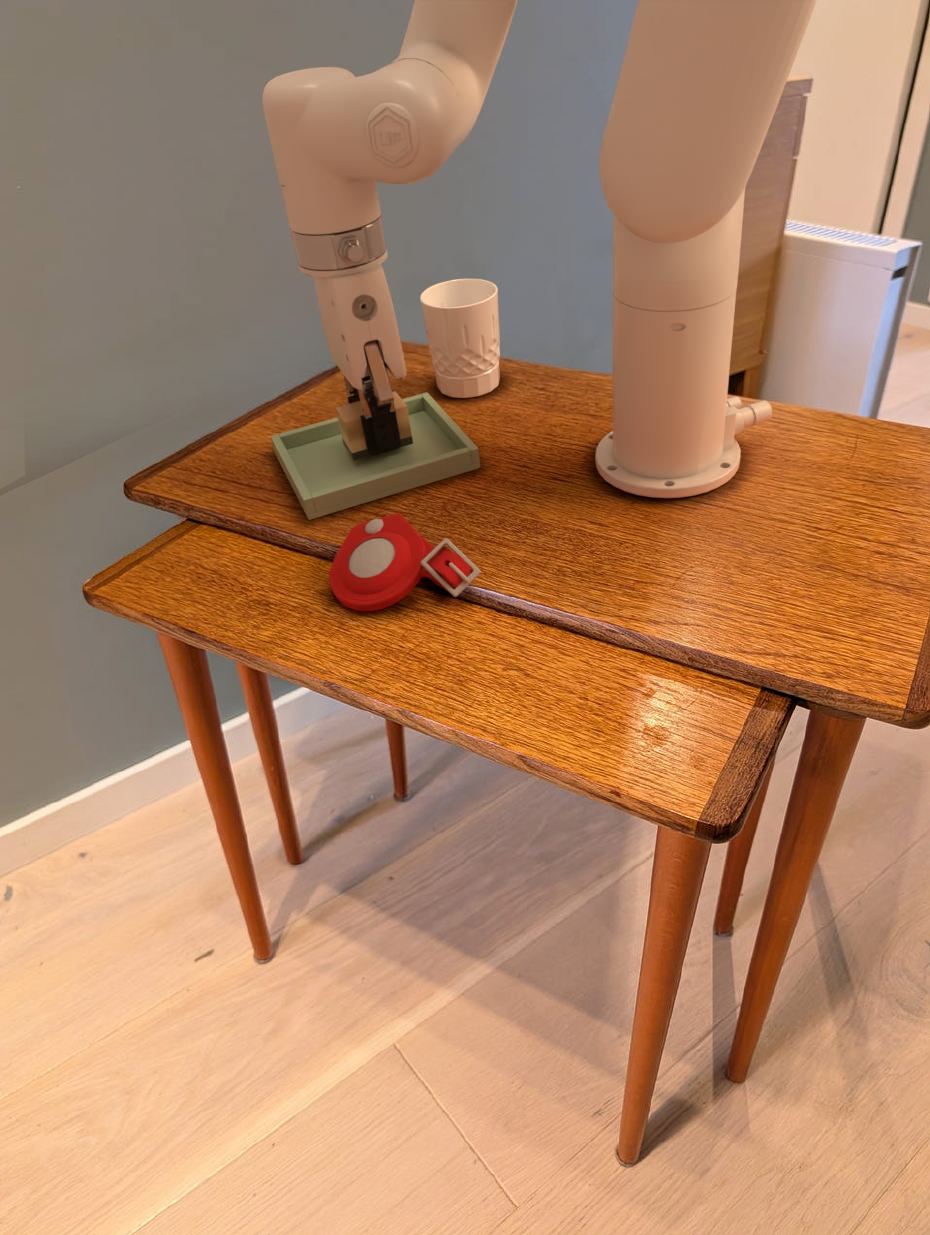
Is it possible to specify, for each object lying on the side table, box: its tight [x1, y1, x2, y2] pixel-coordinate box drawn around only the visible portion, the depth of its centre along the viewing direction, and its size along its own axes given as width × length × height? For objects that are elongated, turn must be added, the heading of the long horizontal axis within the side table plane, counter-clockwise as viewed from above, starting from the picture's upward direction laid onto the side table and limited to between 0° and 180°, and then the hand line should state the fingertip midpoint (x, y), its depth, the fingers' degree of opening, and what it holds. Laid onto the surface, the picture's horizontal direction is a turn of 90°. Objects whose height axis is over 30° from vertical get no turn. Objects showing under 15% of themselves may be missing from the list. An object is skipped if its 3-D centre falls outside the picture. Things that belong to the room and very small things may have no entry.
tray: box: [270, 391, 481, 521], centre depth 86 cm, size 17×14×2 cm
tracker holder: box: [328, 512, 482, 612], centre depth 70 cm, size 12×4×10 cm
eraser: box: [335, 391, 413, 461], centre depth 85 cm, size 6×4×4 cm, turn 111°
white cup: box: [419, 278, 501, 399], centre depth 94 cm, size 8×8×10 cm
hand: (377, 439), depth 86 cm, fingers closed on eraser, 3 cm apart
